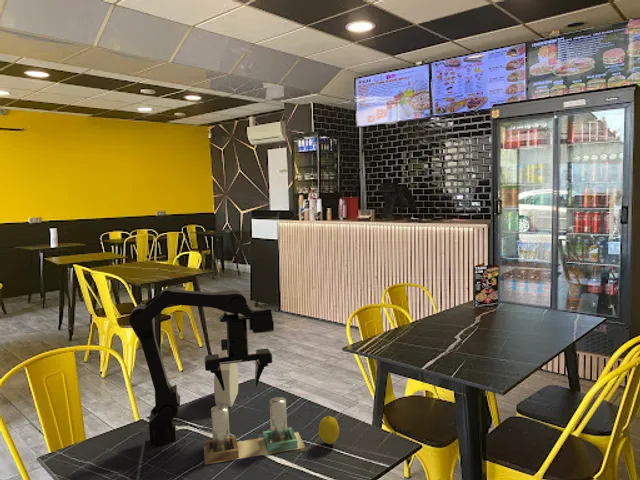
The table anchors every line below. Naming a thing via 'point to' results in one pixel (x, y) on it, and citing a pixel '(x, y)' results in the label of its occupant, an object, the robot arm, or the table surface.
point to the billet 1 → (220, 428)
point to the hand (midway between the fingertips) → (239, 388)
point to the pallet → (253, 447)
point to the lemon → (328, 430)
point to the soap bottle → (226, 383)
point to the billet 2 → (278, 419)
